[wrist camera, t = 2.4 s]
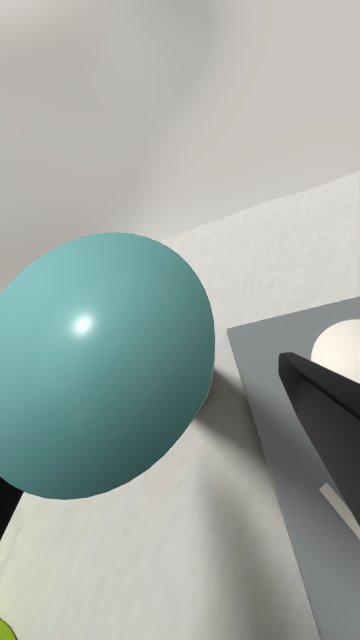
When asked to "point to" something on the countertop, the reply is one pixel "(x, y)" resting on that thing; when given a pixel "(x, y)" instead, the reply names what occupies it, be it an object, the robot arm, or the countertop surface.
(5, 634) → the soap dispenser
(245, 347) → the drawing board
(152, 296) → the marker
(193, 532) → the countertop surface
